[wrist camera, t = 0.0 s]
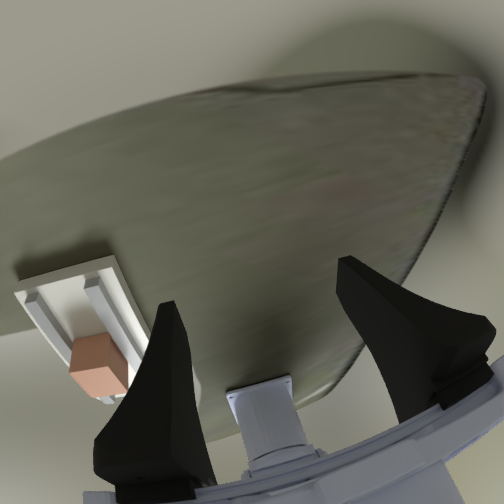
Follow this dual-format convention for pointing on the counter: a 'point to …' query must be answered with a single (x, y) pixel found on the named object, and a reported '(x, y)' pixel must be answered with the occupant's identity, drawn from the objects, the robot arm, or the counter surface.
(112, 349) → the switch
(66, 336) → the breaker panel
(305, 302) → the counter surface
